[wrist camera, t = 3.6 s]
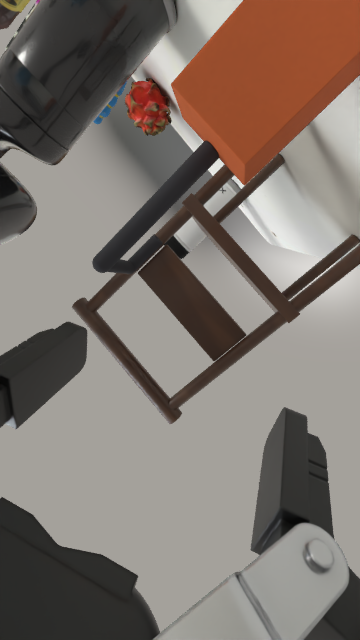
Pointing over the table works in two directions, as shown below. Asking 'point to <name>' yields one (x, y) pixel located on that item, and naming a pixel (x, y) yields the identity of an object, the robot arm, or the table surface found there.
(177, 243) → the travel mug
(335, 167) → the table surface
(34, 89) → the robot arm
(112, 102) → the ornament
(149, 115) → the dragon fruit
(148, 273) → the chair
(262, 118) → the orange open padlock
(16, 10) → the sauce bottle
